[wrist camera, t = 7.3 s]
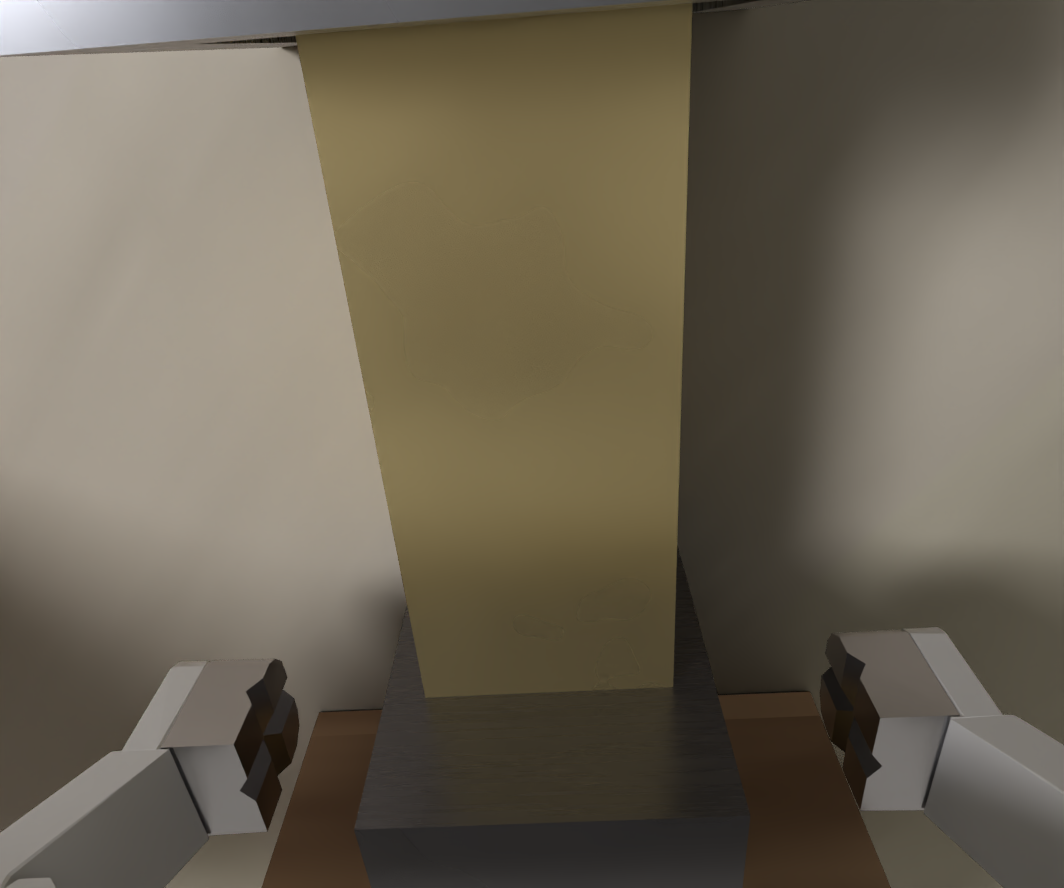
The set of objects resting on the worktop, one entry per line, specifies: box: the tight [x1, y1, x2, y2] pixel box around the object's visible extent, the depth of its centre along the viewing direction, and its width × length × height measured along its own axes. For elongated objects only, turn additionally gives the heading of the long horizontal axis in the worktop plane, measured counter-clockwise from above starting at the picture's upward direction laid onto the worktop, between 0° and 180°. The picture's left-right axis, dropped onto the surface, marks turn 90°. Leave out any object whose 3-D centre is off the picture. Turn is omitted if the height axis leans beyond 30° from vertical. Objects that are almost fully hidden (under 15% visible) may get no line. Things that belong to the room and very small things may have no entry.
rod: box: [296, 3, 750, 888], centre depth 9 cm, size 18×4×6 cm, turn 4°
